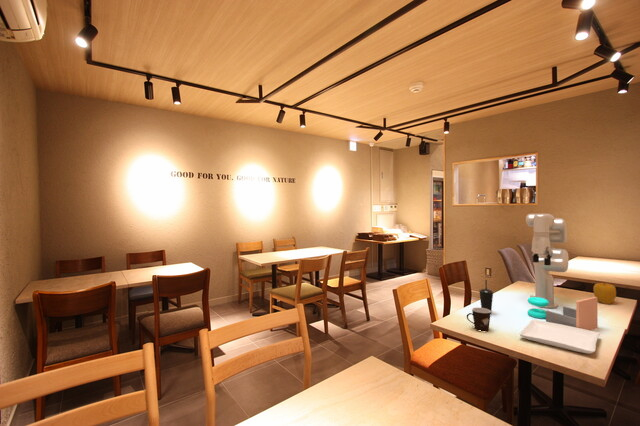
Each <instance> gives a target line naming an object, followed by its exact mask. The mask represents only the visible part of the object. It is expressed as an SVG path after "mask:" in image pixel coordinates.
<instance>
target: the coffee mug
mask: <svg viewBox="0 0 640 426" xmlns="http://www.w3.org/2000/svg"><path fill="white" fill-rule="evenodd" d="M471 310H472V312H470V313H467V315H466V319H467V321H469V322H470V323H472V324H473V325H474V326H473V327H474V329H477V330H481V331H487V332H489V331H488V330H490V324H491V323H490V321H491V315H492V310H491V311H490V310H488V309H485V308H481V307H472V309H471ZM490 314H491V315H490ZM470 315H472V319H473V321H471V320H470V319H469V316H470ZM477 330H476V331H477ZM481 331H480V332H481Z"/></svg>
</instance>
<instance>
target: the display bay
mask: <svg viewBox="0 0 640 426" xmlns="http://www.w3.org/2000/svg"><path fill="white" fill-rule="evenodd" d="M545 311H546V318H545V322H550V323H556V324H561V325H566V326H571V327H576V328H580V329H585V330H589V331H594V330H596V329H598V328H599V327H598V324H599V323H598V321H599V320H598V300H597V297H595V296H592V297H588V298H584V299H579V300H576V301H575V308H572V307H569V306H565V305H564V306H562V313H558V312H554V311H551V310H545Z"/></svg>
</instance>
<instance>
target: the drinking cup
mask: <svg viewBox="0 0 640 426" xmlns="http://www.w3.org/2000/svg"><path fill="white" fill-rule="evenodd" d="M487 282H488V281H487V279H485V282H484V283H485V287H483V288H480V289H478V292H479V299H480V308H485V309H488V310H490V311H491V312H492V311H493V310H492V308H493V298H494V290H492V289H490V288H488V283H487Z"/></svg>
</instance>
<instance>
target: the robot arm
mask: <svg viewBox="0 0 640 426" xmlns="http://www.w3.org/2000/svg"><path fill="white" fill-rule="evenodd" d="M525 223H526V225H527V227H531V228H533V237H532V242H531V247H530V250H531V254H532V262H533V268H534V285H535V287H534V289H535V290H534V293H535V295H530V296H529V298H530V297H539V298H544V299H546V300H548V302H549V304H548V305H547V306H544V307H542V308H544V309H556V308H557V307H558V304H556V303H555V295H554V294H555V289H554V285H555V284H554V283H555V281H554V280H555V279H554V277H553V275H552V274H551V273H550V272H552V273H553V272H555V273H566V272H567V271H568V270H569V269H568V268H569V260H570V259H569V258H570V257H569V256H570V255H569V253H568V251H567V250H566V249H564V248H555V247H554V245H552V244H565V243H567V241H568V229H567V226H568V225H567V222H566V220H565V219H564V218H561V217H554V215H553V214H550V213H528V214H527V215H526V216H525ZM537 307H538V308H540V307H539V306H537Z"/></svg>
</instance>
